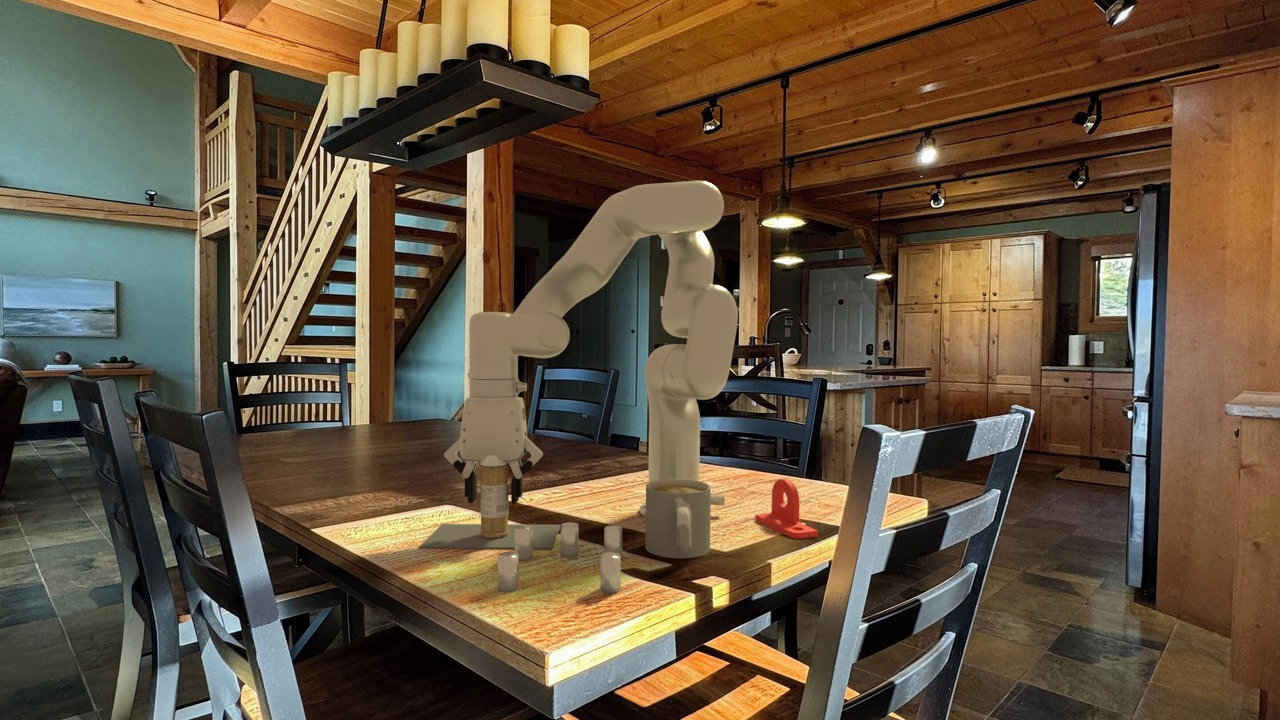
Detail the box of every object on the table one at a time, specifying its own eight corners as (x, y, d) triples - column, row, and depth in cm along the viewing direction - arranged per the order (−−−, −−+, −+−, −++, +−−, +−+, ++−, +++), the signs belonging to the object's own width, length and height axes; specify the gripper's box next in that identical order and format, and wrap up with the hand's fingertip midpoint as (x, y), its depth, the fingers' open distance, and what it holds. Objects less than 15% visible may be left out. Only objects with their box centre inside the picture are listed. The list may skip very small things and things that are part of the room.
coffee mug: (650, 538, 107) (650, 477, 107) (711, 541, 105) (712, 480, 105) (637, 566, 94) (637, 497, 93) (706, 571, 92) (707, 500, 92)
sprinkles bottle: (501, 529, 108) (501, 448, 108) (513, 536, 105) (513, 452, 104) (475, 533, 106) (475, 451, 105) (486, 541, 102) (486, 455, 101)
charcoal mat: (560, 529, 111) (560, 524, 111) (551, 552, 99) (551, 547, 99) (442, 528, 111) (442, 524, 111) (419, 552, 99) (419, 546, 99)
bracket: (755, 521, 118) (756, 477, 118) (776, 518, 120) (777, 475, 119) (794, 540, 107) (795, 492, 106) (817, 537, 108) (818, 490, 108)
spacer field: (622, 555, 98) (622, 522, 98) (620, 598, 82) (620, 559, 82) (518, 555, 98) (518, 522, 98) (495, 598, 82) (495, 558, 82)
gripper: (551, 388, 108) (550, 496, 109) (446, 387, 108) (446, 495, 109) (545, 392, 101) (544, 508, 101) (432, 391, 100) (432, 507, 101)
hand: (493, 500), depth 105 cm, fingers open, 6 cm apart
